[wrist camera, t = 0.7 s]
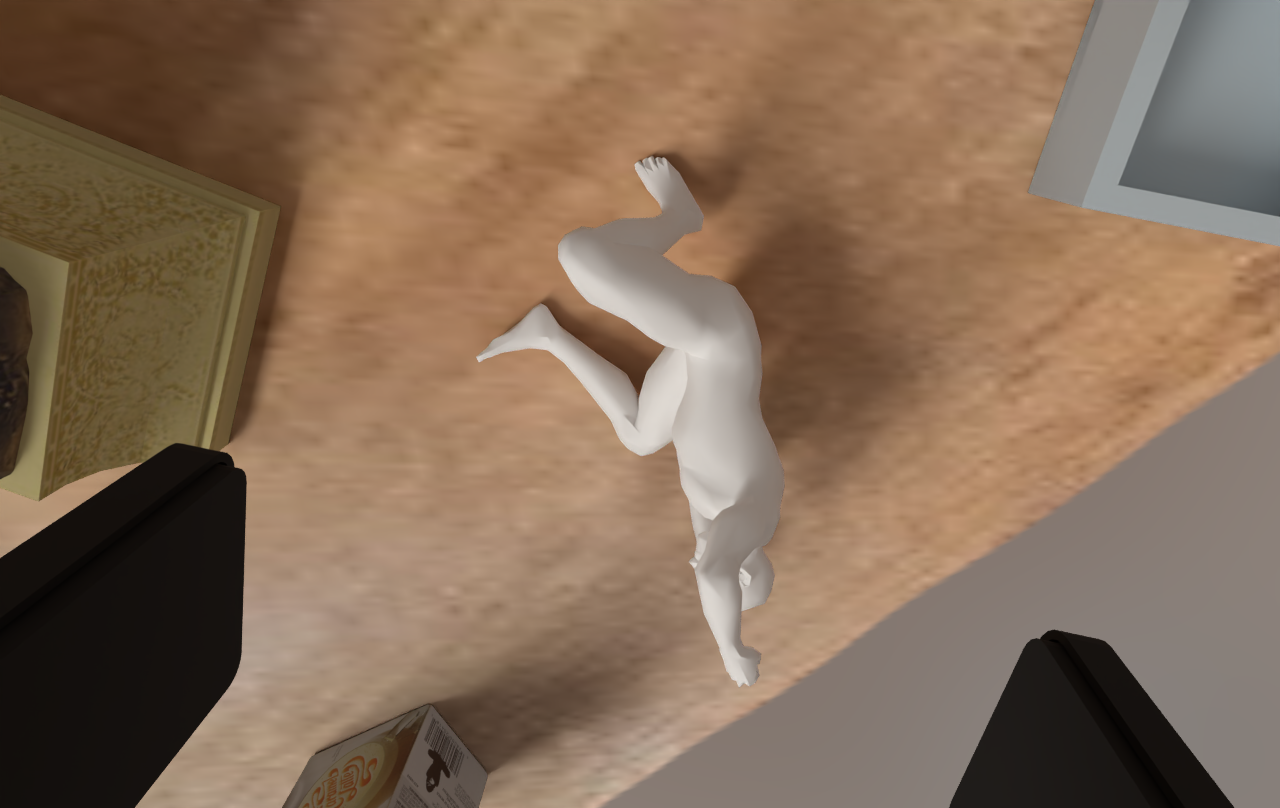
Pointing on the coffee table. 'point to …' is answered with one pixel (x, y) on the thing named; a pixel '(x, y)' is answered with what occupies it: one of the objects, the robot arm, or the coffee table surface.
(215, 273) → the decorative clock
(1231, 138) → the grey square box
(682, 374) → the person figurine
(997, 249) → the coffee table surface
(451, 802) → the coffee box
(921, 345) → the coffee table surface
